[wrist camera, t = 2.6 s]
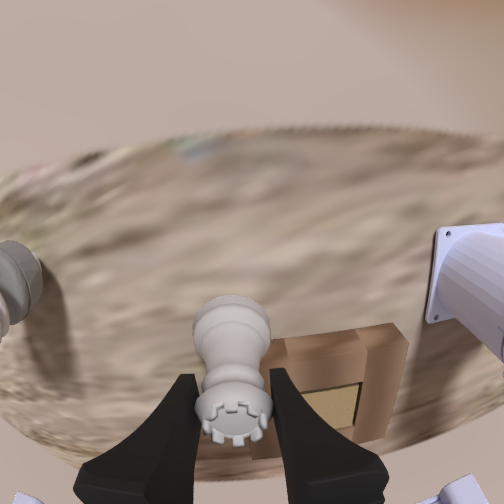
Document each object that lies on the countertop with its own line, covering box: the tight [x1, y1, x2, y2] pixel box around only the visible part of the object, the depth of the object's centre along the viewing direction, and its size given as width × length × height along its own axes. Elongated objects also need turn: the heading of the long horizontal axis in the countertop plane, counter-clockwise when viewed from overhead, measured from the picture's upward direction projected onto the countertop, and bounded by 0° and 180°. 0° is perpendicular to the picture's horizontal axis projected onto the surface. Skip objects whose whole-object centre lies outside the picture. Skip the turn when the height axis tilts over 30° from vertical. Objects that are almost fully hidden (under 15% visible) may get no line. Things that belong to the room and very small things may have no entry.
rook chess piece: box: [193, 295, 275, 448], centre depth 14 cm, size 4×4×8 cm
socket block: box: [249, 323, 409, 460], centre depth 23 cm, size 12×11×3 cm
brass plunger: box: [300, 382, 359, 429], centre depth 22 cm, size 5×5×1 cm
